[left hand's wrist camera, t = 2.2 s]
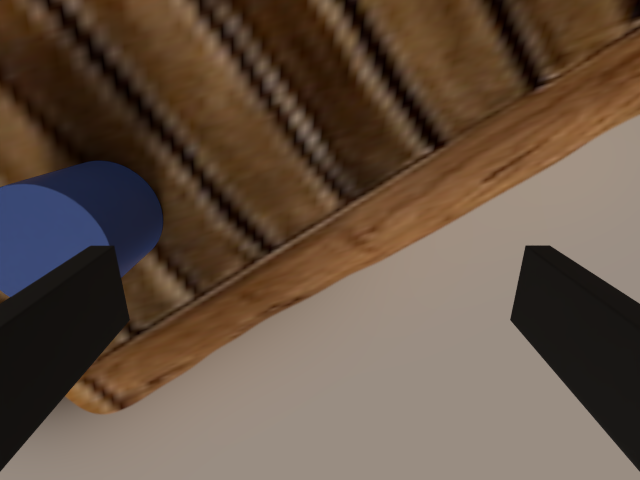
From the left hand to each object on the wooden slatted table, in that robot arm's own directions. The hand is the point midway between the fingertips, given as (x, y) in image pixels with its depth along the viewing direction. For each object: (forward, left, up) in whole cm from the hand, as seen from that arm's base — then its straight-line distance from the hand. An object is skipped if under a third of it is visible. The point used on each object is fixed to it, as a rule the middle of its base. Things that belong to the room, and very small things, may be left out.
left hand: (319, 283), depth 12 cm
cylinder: (-8, -17, -20) cm, 28 cm away
